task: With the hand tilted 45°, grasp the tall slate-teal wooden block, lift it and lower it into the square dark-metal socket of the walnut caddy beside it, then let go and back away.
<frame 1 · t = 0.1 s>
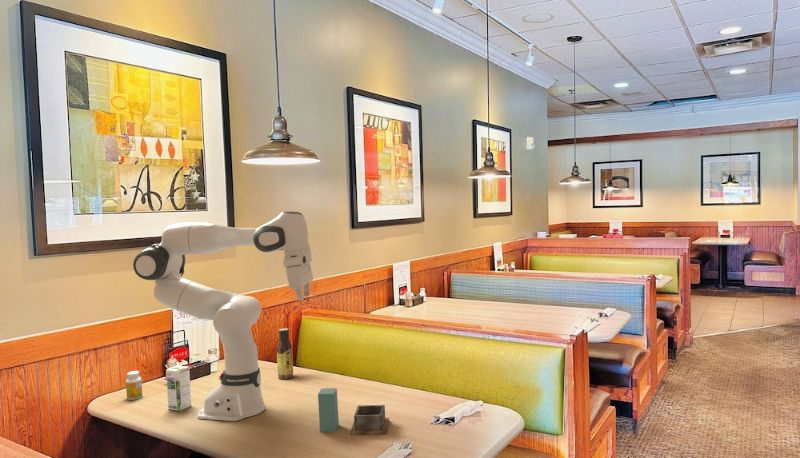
hand: (304, 298, 187), 39 cm above the table, tool pointing down, fingers open, 8 cm apart
syrup box: (180, 408, 196), on the table
sauce bottle: (285, 377, 225), on the table
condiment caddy: (370, 427, 171), on the table
teal block: (329, 428, 172), on the table
supplement bottle: (134, 398, 208), on the table
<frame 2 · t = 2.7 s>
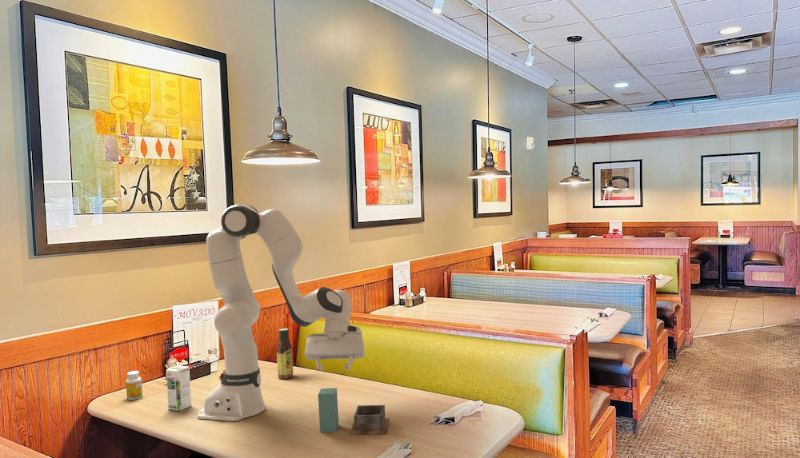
hand: (333, 369, 181), 16 cm above the table, tool tilted 45°, fingers open, 8 cm apart
nothing on the table moved.
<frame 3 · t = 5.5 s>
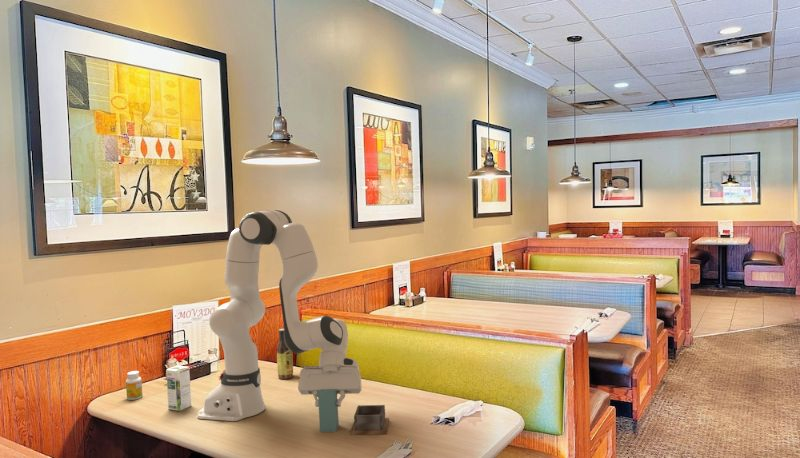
hand: (327, 406, 171), 7 cm above the table, tool tilted 45°, fingers closed on teal block, 5 cm apart
teal block: (329, 428, 172), on the table, touching gripper
everything else where it was.
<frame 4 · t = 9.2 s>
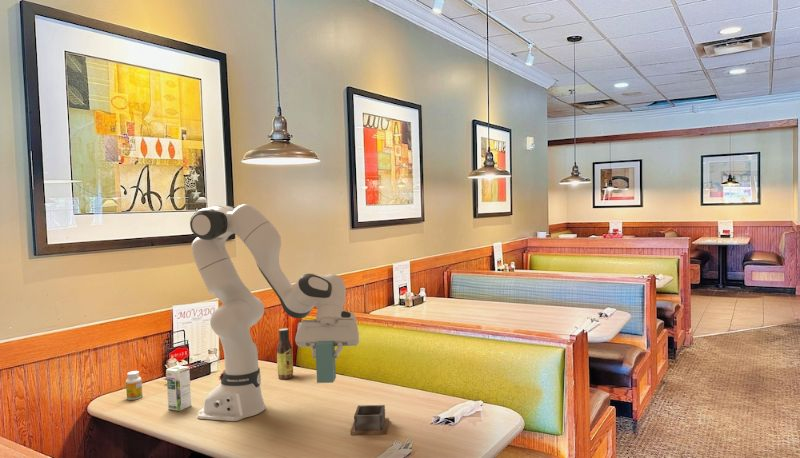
hand: (325, 357, 170), 23 cm above the table, tool tilted 45°, fingers closed on teal block, 5 cm apart
teal block: (326, 380, 171), point 15 cm above the table, touching gripper
everything else where it was.
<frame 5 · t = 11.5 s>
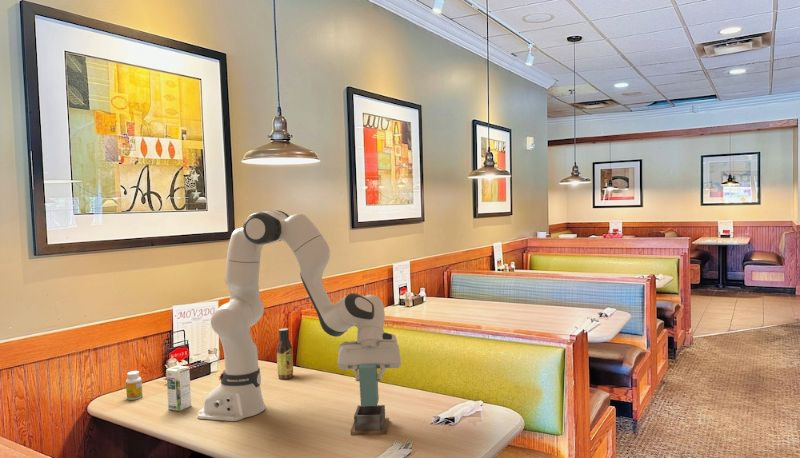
hand: (368, 380, 170), 15 cm above the table, tool tilted 45°, fingers closed on teal block, 5 cm apart
teal block: (369, 402, 171), point 8 cm above the table, touching gripper
everything else where it was.
when the fingers open (9 cm above the table, at t = 13.2 s): teal block stays where it is, resting on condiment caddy.
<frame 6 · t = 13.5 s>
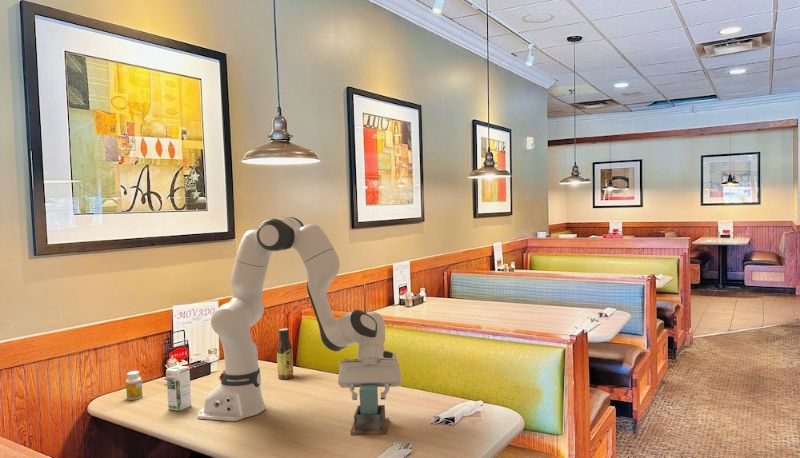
hand: (368, 399, 170), 9 cm above the table, tool tilted 45°, fingers open, 8 cm apart
teal block: (370, 424, 171), point 1 cm above the table, touching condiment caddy
everything else where it was.
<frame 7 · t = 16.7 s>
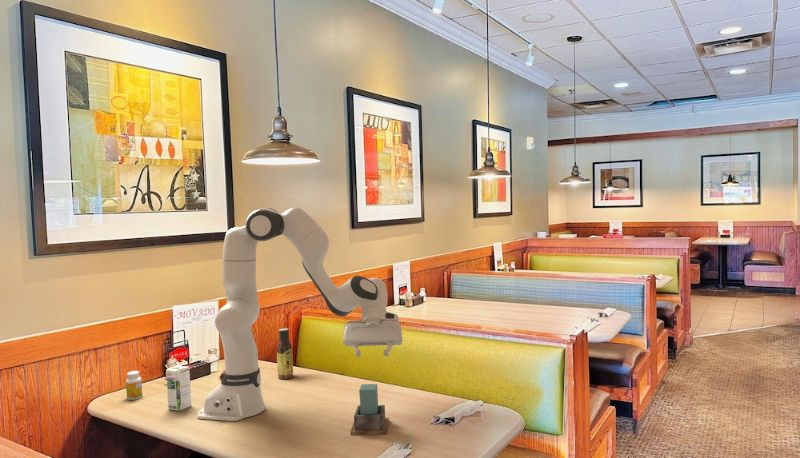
hand: (372, 355, 182), 19 cm above the table, tool tilted 45°, fingers open, 8 cm apart
nothing on the table moved.
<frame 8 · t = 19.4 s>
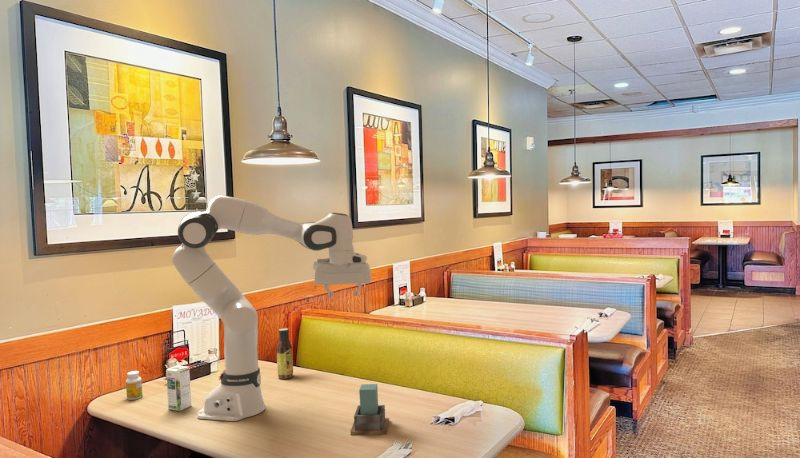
hand: (343, 296, 196), 37 cm above the table, tool pointing down, fingers open, 8 cm apart
nothing on the table moved.
at the end: teal block 0.1 cm from the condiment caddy (horizontally); teal block point 1.0 cm above the table; teal block tilted 0° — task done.
